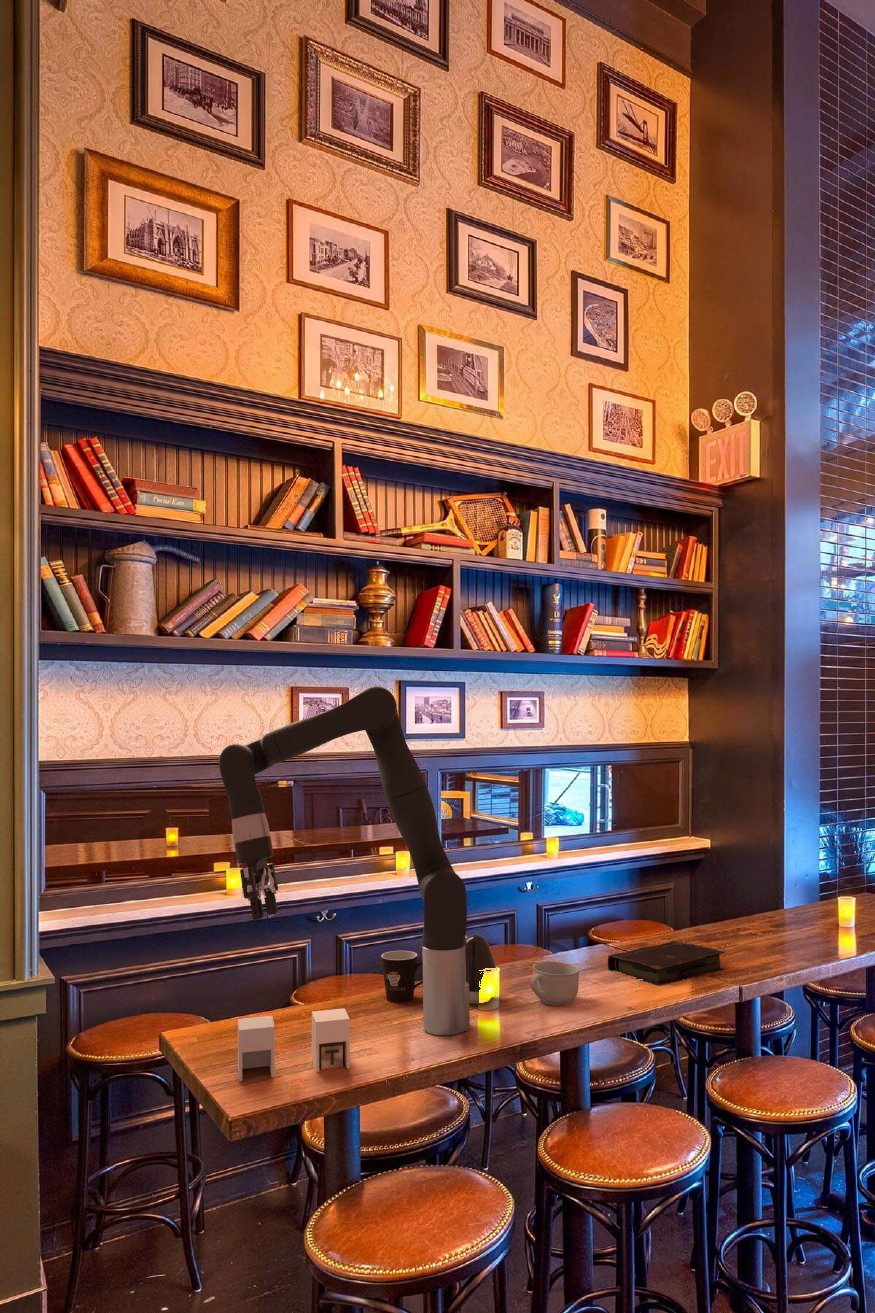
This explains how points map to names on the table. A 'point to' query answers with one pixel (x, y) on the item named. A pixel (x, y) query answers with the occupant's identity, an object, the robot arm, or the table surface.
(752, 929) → the table surface
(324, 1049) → the letter cube
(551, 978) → the teacup
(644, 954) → the diary
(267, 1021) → the grey cover
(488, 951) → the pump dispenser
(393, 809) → the robot arm
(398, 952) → the coffee mug
